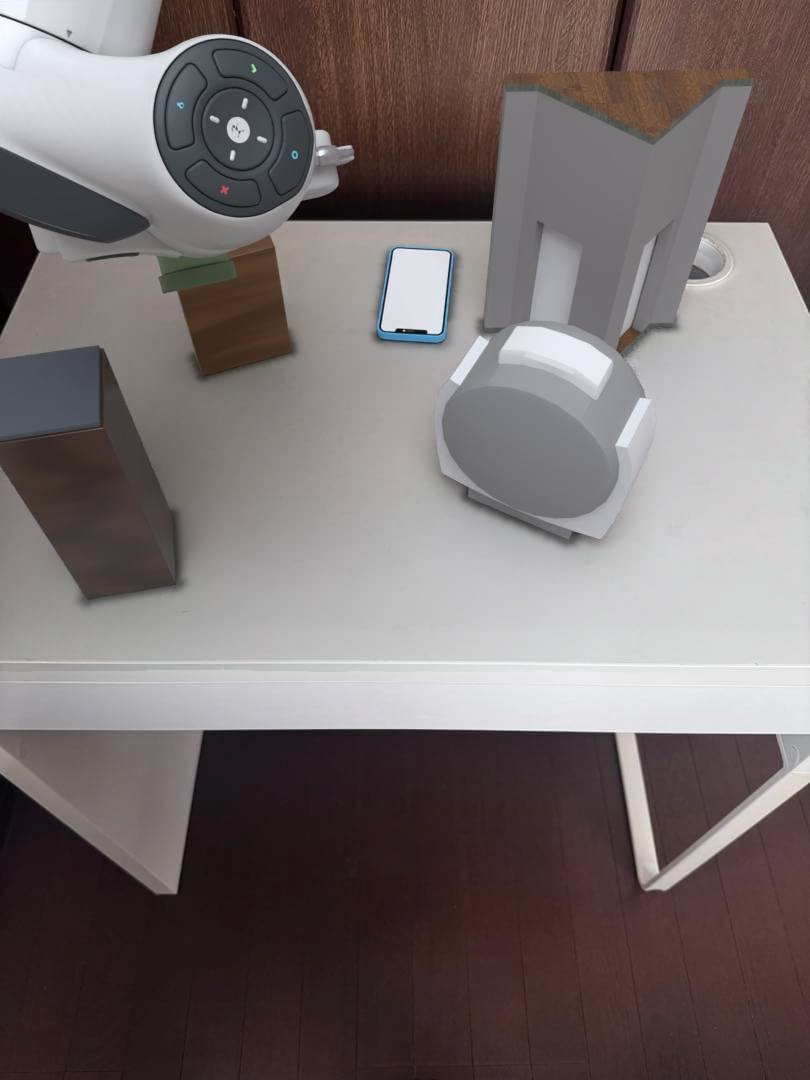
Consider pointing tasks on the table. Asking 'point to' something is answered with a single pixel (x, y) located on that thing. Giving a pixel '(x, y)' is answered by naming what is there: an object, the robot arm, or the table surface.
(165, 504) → the pedestal
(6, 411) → the mat
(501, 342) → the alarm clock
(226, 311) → the wooden block
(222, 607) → the table surface
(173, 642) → the table surface
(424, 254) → the smartphone
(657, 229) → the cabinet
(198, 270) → the toy
